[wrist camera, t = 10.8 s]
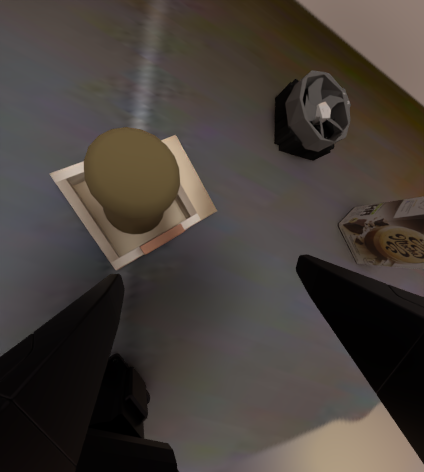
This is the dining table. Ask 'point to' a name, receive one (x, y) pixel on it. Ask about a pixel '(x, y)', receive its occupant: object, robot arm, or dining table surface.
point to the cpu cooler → (311, 116)
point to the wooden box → (135, 245)
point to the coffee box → (387, 233)
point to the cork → (131, 178)
